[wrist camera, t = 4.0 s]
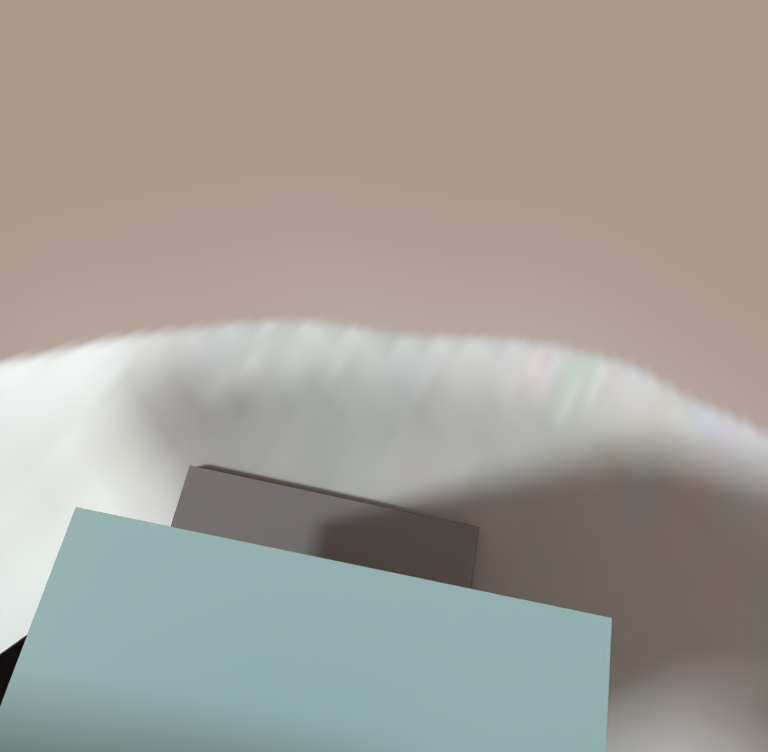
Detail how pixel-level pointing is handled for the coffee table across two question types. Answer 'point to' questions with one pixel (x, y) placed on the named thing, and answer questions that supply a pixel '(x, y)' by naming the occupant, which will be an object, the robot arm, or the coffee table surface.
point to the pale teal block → (290, 655)
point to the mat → (326, 527)
